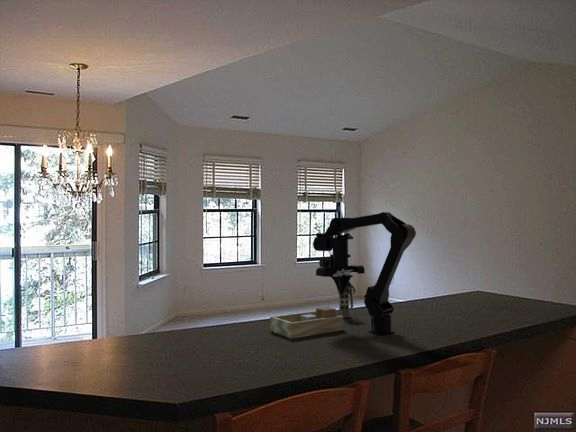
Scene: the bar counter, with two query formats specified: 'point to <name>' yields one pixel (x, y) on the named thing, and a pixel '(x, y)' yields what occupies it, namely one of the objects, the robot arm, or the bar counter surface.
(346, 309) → the grenade model
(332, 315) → the walnut block
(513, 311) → the bar counter surface
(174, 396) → the bar counter surface
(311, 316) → the trapped block
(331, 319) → the box
